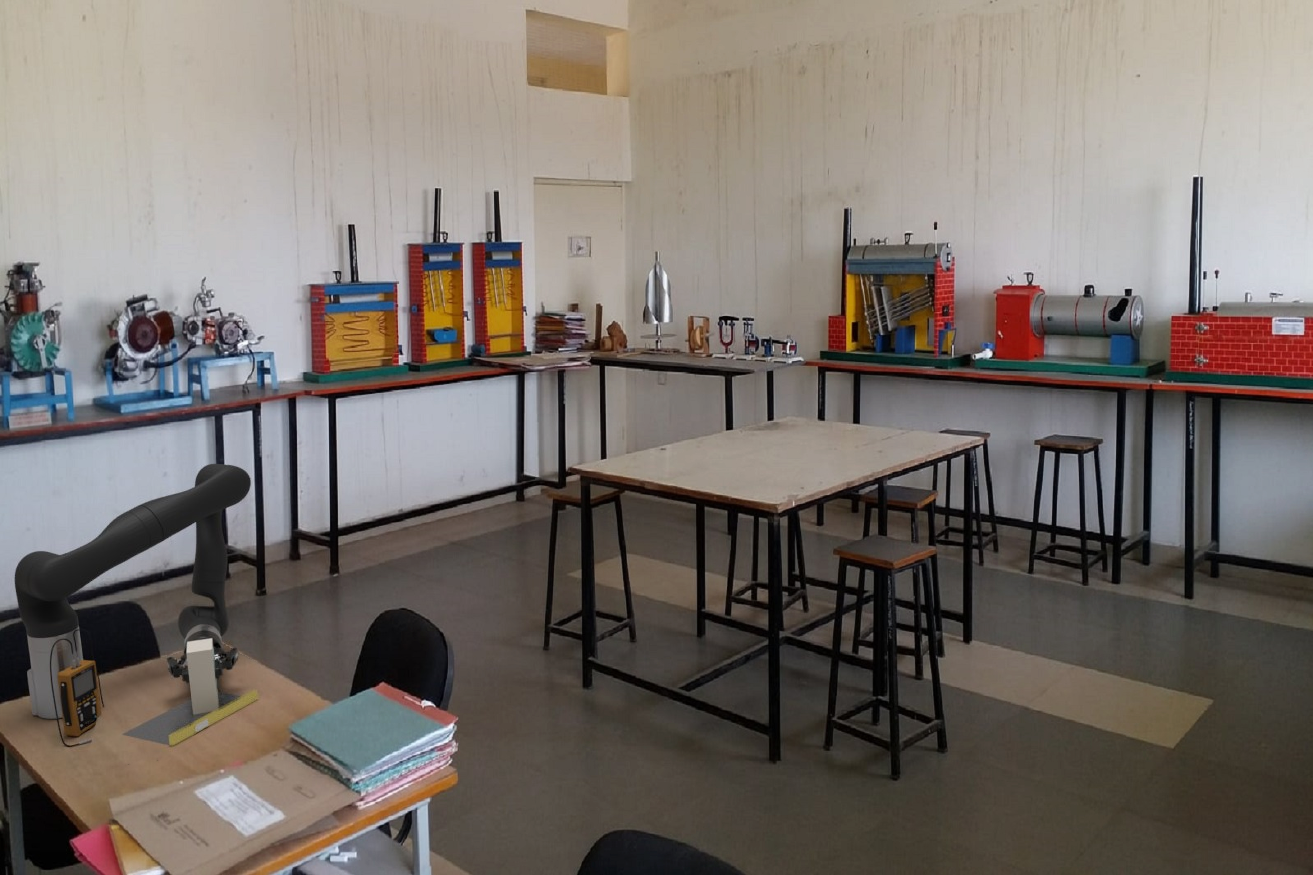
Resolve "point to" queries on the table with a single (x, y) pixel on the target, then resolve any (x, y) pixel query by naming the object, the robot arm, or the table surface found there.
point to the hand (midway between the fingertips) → (202, 676)
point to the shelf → (189, 719)
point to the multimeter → (78, 694)
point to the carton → (202, 676)
